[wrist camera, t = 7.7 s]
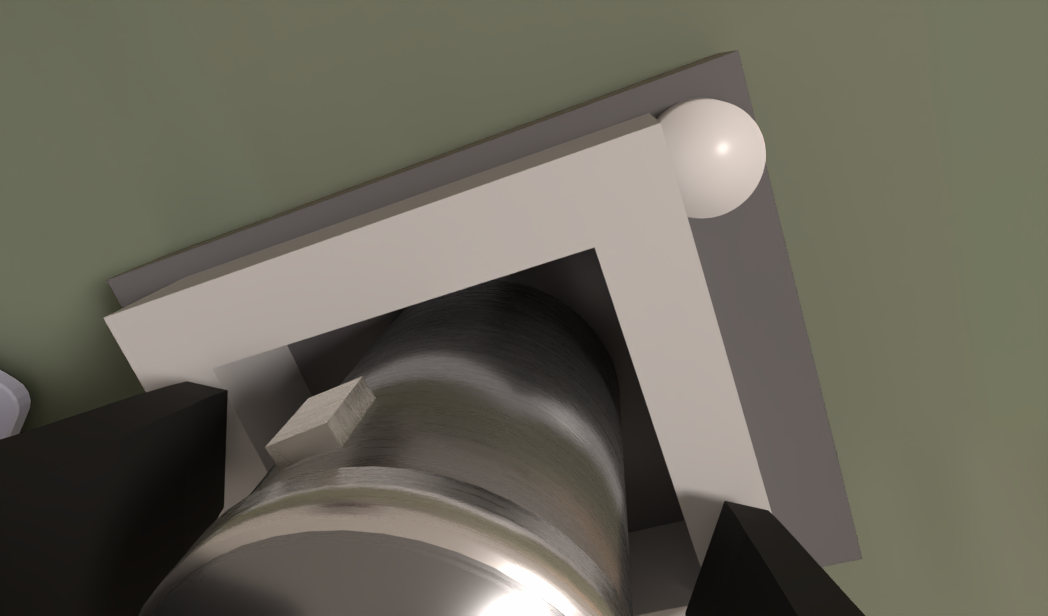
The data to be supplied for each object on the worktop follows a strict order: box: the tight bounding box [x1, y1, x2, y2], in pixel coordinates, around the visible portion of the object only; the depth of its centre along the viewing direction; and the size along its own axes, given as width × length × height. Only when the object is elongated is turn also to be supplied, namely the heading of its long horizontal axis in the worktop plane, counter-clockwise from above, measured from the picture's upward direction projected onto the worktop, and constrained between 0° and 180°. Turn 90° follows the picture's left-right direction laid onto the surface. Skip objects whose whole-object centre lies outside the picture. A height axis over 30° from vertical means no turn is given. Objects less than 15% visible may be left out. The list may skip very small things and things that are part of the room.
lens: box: [138, 280, 633, 616], centre depth 9 cm, size 5×5×6 cm
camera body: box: [104, 50, 862, 616], centre depth 12 cm, size 11×9×4 cm
